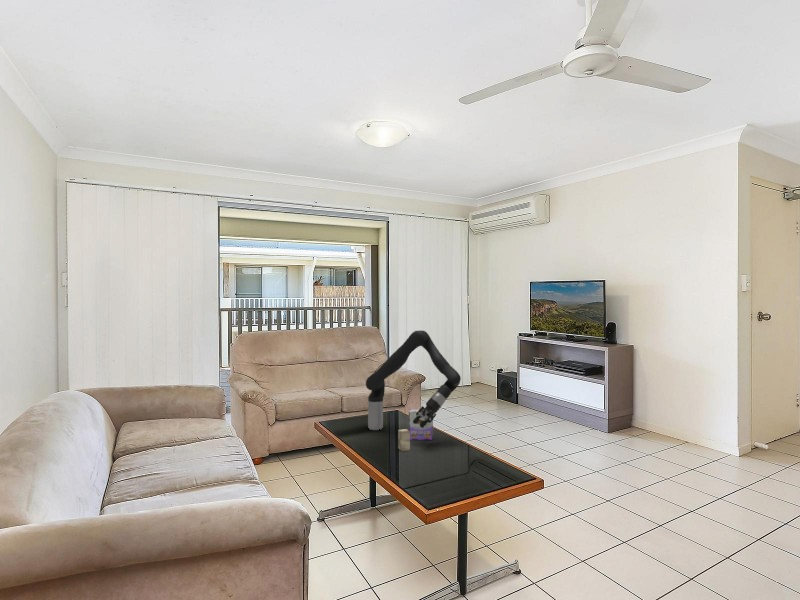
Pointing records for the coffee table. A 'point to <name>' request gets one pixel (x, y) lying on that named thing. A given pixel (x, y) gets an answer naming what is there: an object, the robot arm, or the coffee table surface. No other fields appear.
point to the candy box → (416, 430)
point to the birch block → (404, 440)
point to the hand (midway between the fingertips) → (417, 424)
